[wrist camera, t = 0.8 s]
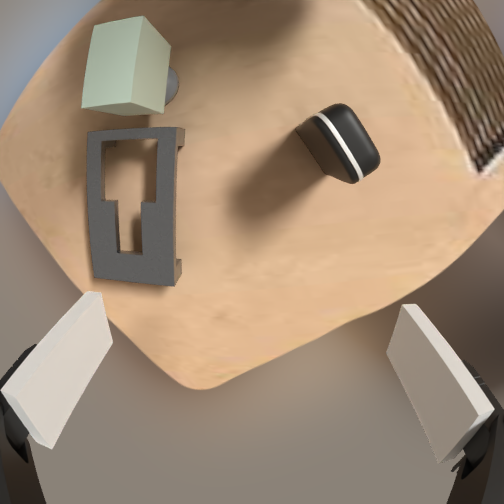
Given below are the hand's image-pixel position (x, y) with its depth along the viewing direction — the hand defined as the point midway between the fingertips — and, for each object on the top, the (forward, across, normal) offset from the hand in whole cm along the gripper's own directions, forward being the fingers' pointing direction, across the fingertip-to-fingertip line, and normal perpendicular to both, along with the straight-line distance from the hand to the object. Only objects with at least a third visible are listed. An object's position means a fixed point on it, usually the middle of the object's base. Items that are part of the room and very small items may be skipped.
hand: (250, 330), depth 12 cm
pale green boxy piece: (+24, -12, +15) cm, 31 cm away
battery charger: (+25, +8, +8) cm, 27 cm away
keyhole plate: (+24, -14, 0) cm, 28 cm away
